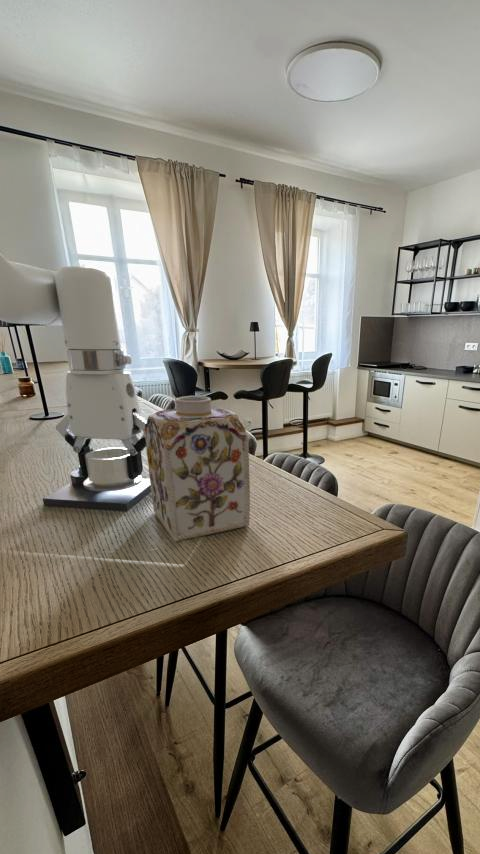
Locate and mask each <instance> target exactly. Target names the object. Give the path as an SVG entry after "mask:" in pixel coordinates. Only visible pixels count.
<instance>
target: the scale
mask: <svg viewBox="0 0 480 854" xmlns="http://www.w3.org/2000/svg"><path fill="white" fill-rule="evenodd" d="M69 477H70V481H71V482H70V483H68V484H66V485H64V486H63V487H61V488H59V489H57V490H56V491H54V492H52V493H50V494H49V495H47V496H45V497H42V503H43V507H51V508H65V509H81V510H83V509H84V510H94V511H110V512H111V511H112V512H126V513H128V512H129V511H131V509H133V508H134V507H135V506H136V505H137V504H139V503H140V502H141V501H142V500H144V498H146V497H147V496H148V495H150V494H151V487H150V478H142V481H141V482H140V483H139V484H138V485H136V486H134V487H131V488H127V489H123V490H117V491H92V490H89V489H86V488H85V487H84V484H83V483H84V481H85V480H86V479H88V477H83V475H80V473H79V468H77V469H75V470H72V471H71V472H70V474H69Z"/></svg>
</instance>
